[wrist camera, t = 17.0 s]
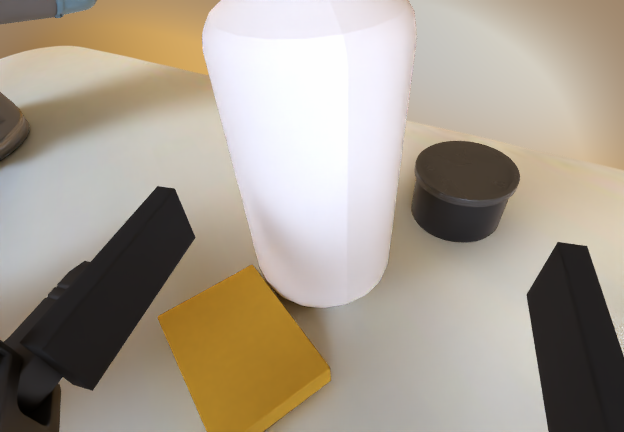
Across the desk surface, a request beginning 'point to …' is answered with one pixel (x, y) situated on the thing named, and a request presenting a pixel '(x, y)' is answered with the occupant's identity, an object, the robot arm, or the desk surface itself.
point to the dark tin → (462, 190)
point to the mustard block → (242, 354)
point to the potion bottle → (315, 134)
